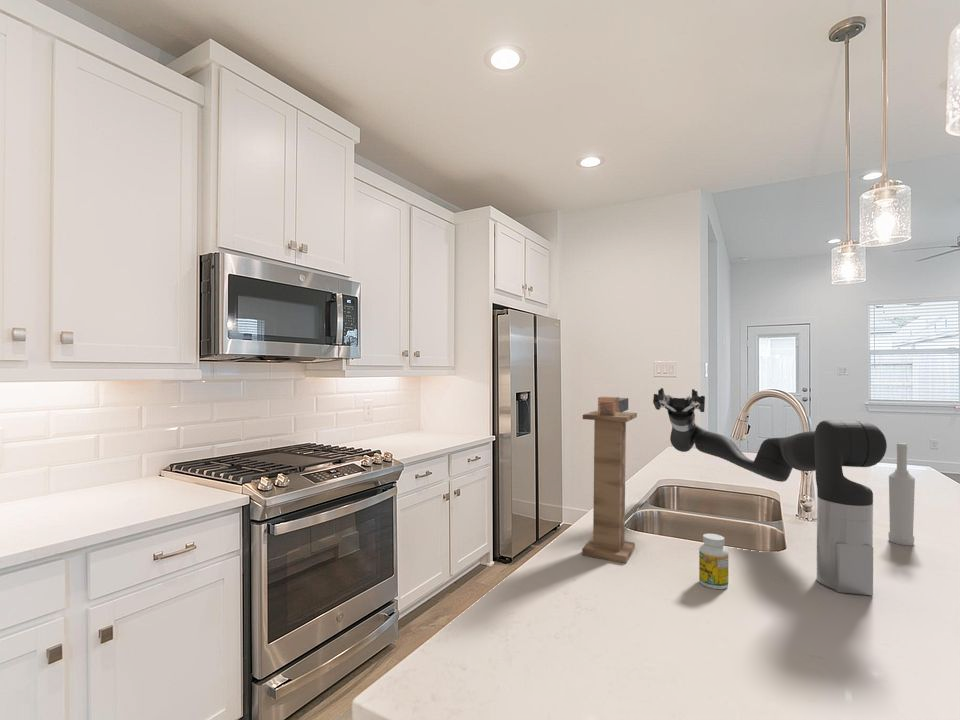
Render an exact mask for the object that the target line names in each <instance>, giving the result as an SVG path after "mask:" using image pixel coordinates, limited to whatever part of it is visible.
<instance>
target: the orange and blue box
mask: <svg viewBox="0 0 960 720" xmlns="http://www.w3.org/2000/svg"><path fill="white" fill-rule="evenodd" d="M628 410H629V398H628V397H619V396H617V397H616V396H598V397H597V411H598V415H609V416H616V415H619V413H621V412H627V411H628Z"/></svg>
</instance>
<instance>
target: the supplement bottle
mask: <svg viewBox="0 0 960 720" xmlns="http://www.w3.org/2000/svg"><path fill="white" fill-rule="evenodd" d="M725 540H726V539H725V537H724V536H722V535H720V534H717V533H703V534H702V542H703V543H702V544H701V545H700V546H699V550H698V554H699V559H698V560H699V562H698V563H699V565H698V566H699V568H698V570H699V571H698V573H699V575H698V578H699V582H700V584H701V585H703V586H705V587H706V588H708V589H713V590H725V589H727V588H728V587H729V550H728V549H727V548H726V547H725V543H726V541H725Z"/></svg>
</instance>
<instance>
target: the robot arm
mask: <svg viewBox="0 0 960 720" xmlns="http://www.w3.org/2000/svg"><path fill="white" fill-rule="evenodd" d="M698 394H699V393H698V391H697V390H695V389H694V388H692V389H691V395H689V396H687V397H685V398H684V397H681V398H678V397H673V396H671V395H669V394H667V395H666V394H665V391H664V388H663V387H660V389H658V391H657V393H654V394H653V399H652V403H653V405H654V407H655V409H656V410H657V411H659V410H661V408H665V409H666V410H667V415H668V419H669V422H670V424H671V426H672V428H671V432H670V437H669V441H670V443H671V446H672V447H673V448H674V449H676V450H677V451H679V452H681V453H687V452H690V451H691V450H692V448H693V447H694V446H695V448H696V450H697V451H699V452H701V453H704V454H707V455H710V456H713V457H717V458H719V459H721V460H722V459H723V460H724V461H727V462H730V463H731V464H733V465H735V466H737V467H740V468H743V469H745V470H747V471H749V472H751V473H754V474H756V475H758V476H761V477H764V478H765V479H769V480H771V481H775V482H780V483H783V482H784V483H785V482H786V481H787V480H788V479H789V478H790V475H791V472H792V470H793V469H795V470H796V471H800V472H815V483H816V493H817V495H816V496H817V497H816V498H817V499H816V505H817V506H816V580H817V582H819V583H820V584H822V585H823V586H826V587H828V588H830V589H832V590H834V591H835V592H837V593H843V594H853V595H854V594H856V595H866V596H873V595H874V547H873V546H874V545H873V543H874V541H873V540H874V539H873V538H874V537H873V535H874V530H873V529H874V528H873V527H874V520H873V519H874V493H873V491H872V489H871V488H870V487H868V486H867V485H864V484H862V483H858V482H856V481H853V480H852V479H851V480H850V479H849V478H847V477H846V476H845V475H844V472H843V467H847V468H848V467H850V468H851V467H852V468H869V467H870V468H871V467H873V466H876V465H878V464H879V463H880V462H881V461H882V460H883V458H884V457H885V455H886V452H887V448H888V447H887V445H888V444H887V440H886V436H885V434H884V433H883V432H882V431H881V429H880V428H879V427H878V426H876V425H875V424H872V423H870V422H868V421H867V422H866V421H861V420H860V421H858V420H835V419H834V420H831V419H829V420H822V421H820V422H819V423H818V424H817V425H816V427H815V430H811V431H810V430H809V431H803V432H800V433H796V434H792V435H789V436H785V437H769V438H767V439H764V440H763V441H762V443H761V444H760V446H759V449H758V452H757V453H756V455H755V458H754V460H753V459H751V458H748V457H747V456H746V455H745V454H744V453H743V452H742V451H741V450H740V448H739V447H738V446H737V444H736V443H735V441H733V440H732V439H730V438H729V437H728V436H726V435H723V434H719V433H716V432H712V431H709V430H707V429H705V428H702V427H700V426H699V425H698V424H697V423H696V422H695V421H696V414H695V410H698V411H699V412H700V413H705V408H706V407H705V406H706V405H705V403H706V396H705V395H701V396H699V395H698Z"/></svg>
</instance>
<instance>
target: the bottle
mask: <svg viewBox="0 0 960 720" xmlns="http://www.w3.org/2000/svg"><path fill="white" fill-rule="evenodd" d="M907 455H908V443H901V442H896V469H894V472H892V473H890V474H889V475H888V491H889V492H888V499H889V500H888V502H889V503H888V505H889V508H888V509H889V510H888V512H889V532H888V535H887V536H888V540H889V542H891V543H894V544H897V545H899V546H900V545H901V546H913V545H914V544H915V536H914V519H915V516H914V514H915V489H916V487H915V485H916V479H915V477H914V476H913V475H911V474H910V473H909V470H907V469H908V467H907V465H908V463H907V461H908V460H907V459H908V457H907Z"/></svg>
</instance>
